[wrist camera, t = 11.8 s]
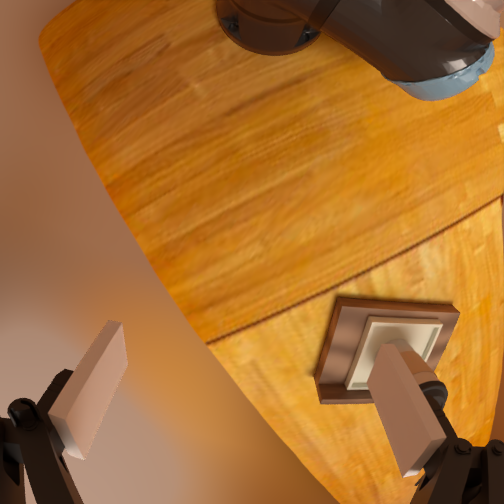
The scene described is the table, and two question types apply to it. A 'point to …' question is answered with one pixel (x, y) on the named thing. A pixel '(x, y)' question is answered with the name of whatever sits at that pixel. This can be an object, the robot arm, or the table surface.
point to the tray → (383, 330)
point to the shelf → (349, 336)
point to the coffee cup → (420, 371)
